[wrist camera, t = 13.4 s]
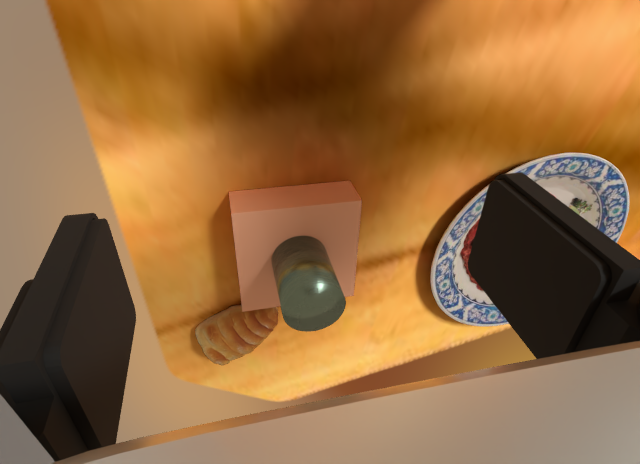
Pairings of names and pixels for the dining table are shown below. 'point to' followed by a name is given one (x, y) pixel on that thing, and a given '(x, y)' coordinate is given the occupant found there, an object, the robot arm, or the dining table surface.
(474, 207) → the ceramic plate
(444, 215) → the dining table surface
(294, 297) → the tea tin
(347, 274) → the terracotta stand
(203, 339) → the pastry
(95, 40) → the dining table surface
